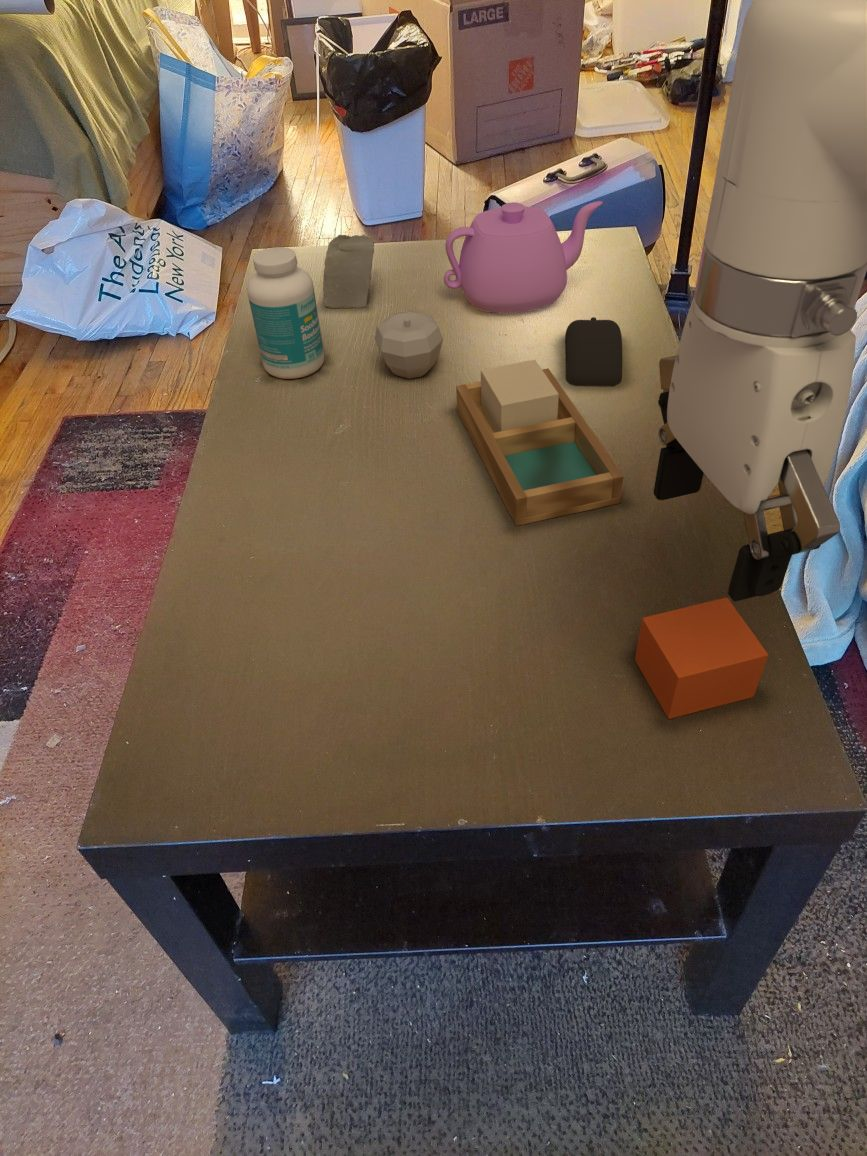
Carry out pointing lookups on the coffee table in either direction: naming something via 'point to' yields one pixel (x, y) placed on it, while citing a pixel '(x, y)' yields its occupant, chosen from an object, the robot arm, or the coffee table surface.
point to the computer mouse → (593, 353)
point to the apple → (409, 343)
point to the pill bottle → (285, 315)
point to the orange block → (699, 657)
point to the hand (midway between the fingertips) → (712, 540)
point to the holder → (543, 460)
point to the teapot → (514, 258)
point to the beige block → (517, 396)
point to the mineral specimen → (348, 271)
